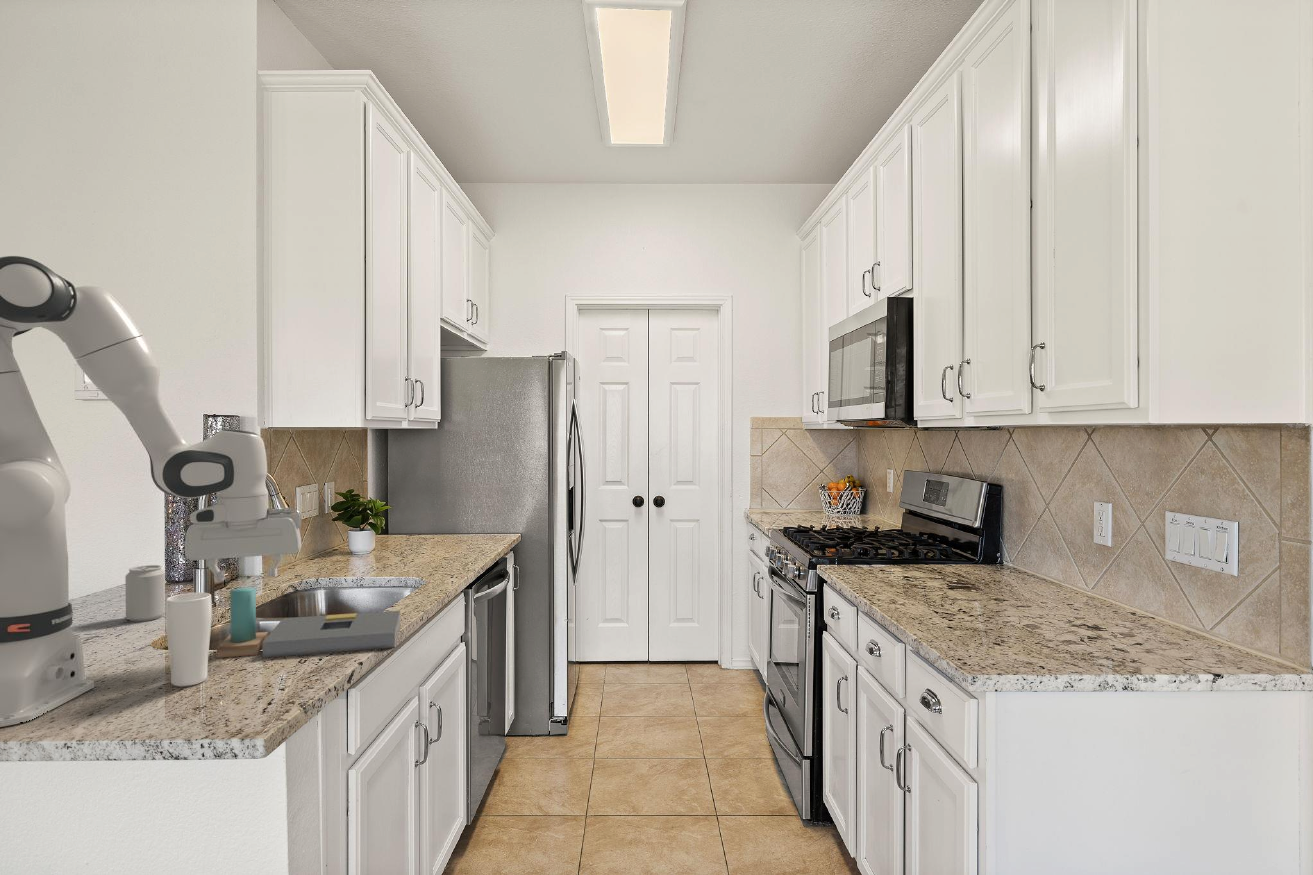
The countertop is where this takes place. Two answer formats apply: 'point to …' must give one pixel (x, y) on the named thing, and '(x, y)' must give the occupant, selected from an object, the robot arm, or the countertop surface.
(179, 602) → the drinking glass
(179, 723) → the countertop surface
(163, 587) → the can
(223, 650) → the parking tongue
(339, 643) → the grey flat block
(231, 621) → the barrel peg
